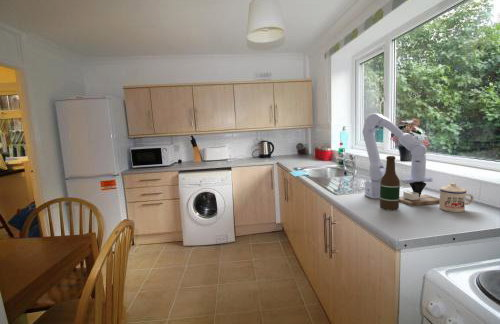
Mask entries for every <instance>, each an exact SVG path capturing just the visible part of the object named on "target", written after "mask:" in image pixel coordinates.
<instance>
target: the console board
mask: <svg viewBox="0 0 500 324" xmlns="http://www.w3.org/2000/svg"><path fill="white" fill-rule="evenodd" d="M439 202H440V197H439V198H438V197H435V196H432V195H429V194H421V195H420V197H419V200H409V199H406V198H403V196H399V203H402V204H404V205H407V206H409V207H414V206H425V204H426V205H435V204H436V203H437V204H439Z"/></svg>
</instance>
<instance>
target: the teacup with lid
mask: <svg viewBox="0 0 500 324" xmlns="http://www.w3.org/2000/svg"><path fill="white" fill-rule="evenodd" d="M466 196H469V197H470V200H469V201H468V202H466ZM439 198H440V202H439V203H438V205H439V206H438V207H439V209H441V210H443V211H446V212H453V213H462V212H464V211H465V209H466V207H465V206H468V205H471V204H472V203H473V202H474V200H475V199H474V195H473V194H471V193H468V192H467V190H466V189H465V188H463V187H460V186H458V185H457V184H456V183H455V182H450V184H448V185H444V186H441V187H440V188H439Z"/></svg>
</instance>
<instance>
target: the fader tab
mask: <svg viewBox="0 0 500 324" xmlns="http://www.w3.org/2000/svg"><path fill="white" fill-rule="evenodd" d="M402 194H403V195H402V197H403V198H406V199H409V200H419V193H416V192H413V190H407V191H403V193H402Z"/></svg>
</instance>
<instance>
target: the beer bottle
mask: <svg viewBox="0 0 500 324" xmlns="http://www.w3.org/2000/svg"><path fill="white" fill-rule="evenodd" d="M385 159H386V164H385V169H386V172H385V174H384V176H383V177H382V179H381V184H380V198H379V208H380V209H383V210H384V211H398V210H399V208H400V202H399V197H400V192H401V191H400V186H401V182H400V179H399V177H398V175H397V172H396V156H394V155H387V156H386V157H385Z"/></svg>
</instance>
